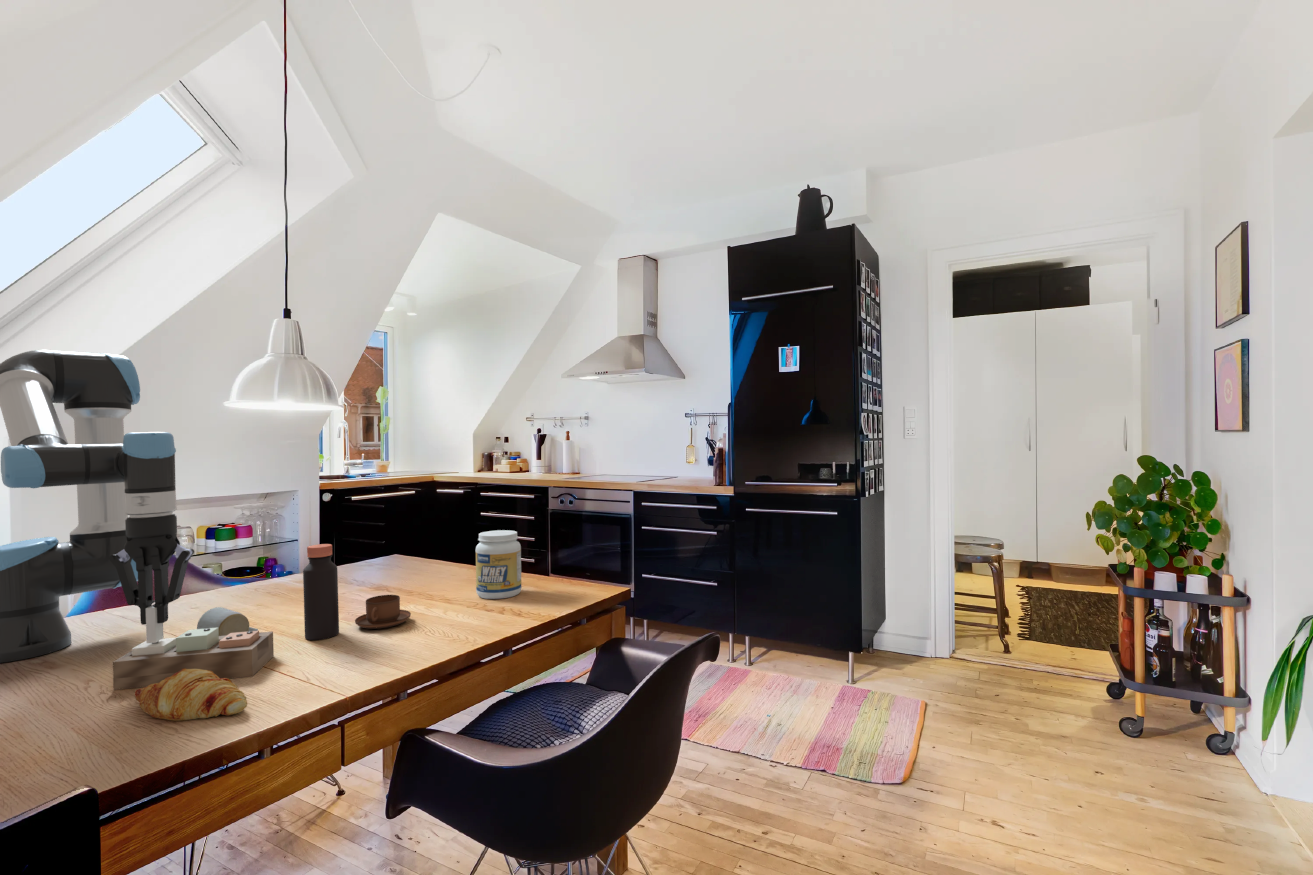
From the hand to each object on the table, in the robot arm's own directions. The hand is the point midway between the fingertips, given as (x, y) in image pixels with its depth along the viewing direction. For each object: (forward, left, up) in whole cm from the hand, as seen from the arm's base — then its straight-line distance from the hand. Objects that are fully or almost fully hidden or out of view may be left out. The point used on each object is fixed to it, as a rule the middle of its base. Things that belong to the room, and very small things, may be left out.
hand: (155, 640), depth 118 cm
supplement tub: (+62, +42, -7) cm, 75 cm away
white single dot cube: (0, 0, -4) cm, 4 cm away
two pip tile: (+7, 0, -3) cm, 8 cm away
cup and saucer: (+36, +22, -7) cm, 43 cm away
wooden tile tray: (+7, 0, -7) cm, 10 cm away
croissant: (+14, -19, -7) cm, 25 cm away
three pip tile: (+14, 0, -4) cm, 15 cm away
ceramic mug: (+5, +19, -7) cm, 21 cm away
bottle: (+24, +17, -7) cm, 30 cm away
